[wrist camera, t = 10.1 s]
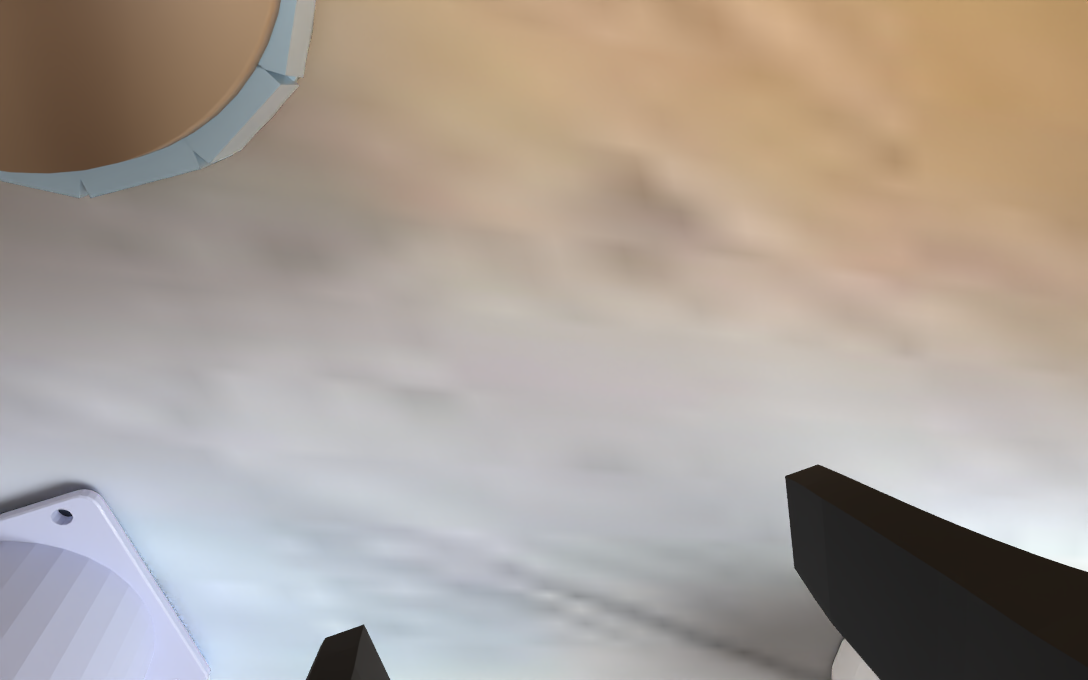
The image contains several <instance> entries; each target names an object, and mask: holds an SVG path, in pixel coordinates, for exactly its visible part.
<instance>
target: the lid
mask: <svg viewBox="0 0 1088 680" xmlns="http://www.w3.org/2000/svg"><path fill="white" fill-rule="evenodd" d="M280 3H281V0H0V171H5V172H15V173H47V174H49V173H60V172H72V171H83V170H88V169H93V168H97V167H102V166H106V165H111V164H116V163H120V162H123V161H127V160H130V159H134V158H138V157H141V156H144V155H146V154H149V153H152V152H155V151H157V150H160V149H163V148H165V147H168V146H170V145H172V144H174V143H176V142H178V141H179V140H181V139H183V138H185V137H187V136H189V135H190V134H192V133H194V132H196V131H197V130H198V129H200V128H201V127H202V126H204V125H205V124H206V123H208V122H209V121H210V120H212V119H213V118H214V117H216V116H217V115H218V114H219V113H220V112H221V111H222V110H223V109H224V108H225V107H226V106H227V105H228V104H229V103H230V102H231V101H232V100H233V99H234V98H235V97H236V96H237V95H238V93H239V92H240V90H241V89H242V88H243V86H244V85H245V83H246V82H247V81H248V79H249V78H250V76H251V75H252V74H253V72H254V71H255V69H256V67H257V65H258V63H259V61H260V59H261V57H262V55H263V53H264V51H265V49H266V47H267V45H268V43H269V41H270V38H271V35H272V32H273V29H274V26H275V23H276V20H277V17H278V14H279V8H280Z"/></svg>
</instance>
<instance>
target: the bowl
mask: <svg viewBox="0 0 1088 680" xmlns="http://www.w3.org/2000/svg"><path fill="white" fill-rule="evenodd" d="M315 3H316V0H281V3H280V8H279V14H278V17H277V20H276V23H275V26H274V29H273V32H272V35H271V38H270V41H269V43H268V45H267V47H266V49H265V51H264V53H263V55H262V57H261V59H260V61H259V63H258V65H257V67H256V69H255V71H254V72H253V74H252V75H251V76H250V78H249V79H248V81H247V82H246V83H245V85H244V86H243V88H242V89H241V90H240V92H239V93H238V95H237V96H236V97H235V98H234V99H233V100H232V101H231V102H230V103H229V104H228V105H227V106H226V107H225V108H224V109H223V110H222V111H221V112H220V113H219V114H218V115H217V116H216V117H214V118H213V119H212V120H210V121H209V122H208V123H206V124H205V125H204V126H202V127H201V128H200V129H198V130H197V131H196V132H194V133H192V134H190V135H189V136H187V137H185V138H183V139H181V140H179V141H178V142H176V143H174V144H172V145H170V146H168V147H165V148H163V149H160V150H157V151H155V152H152V153H149V154H146V155H144V156H141V157H138V158H134V159H130V160H127V161H123V162H120V163H116V164H111V165H106V166H102V167H97V168H93V169H88V170H83V171H72V172H60V173H49V174H47V173H15V172H5V171H0V181H3V182H8V183H12V184H17V185H21V186H26V187H30V188H35V189H40V190H44V191H49V192H53V193H58V194H62V195H67V196H71V197H76V198H81V197H84V196H87V195H89V196H90V198H93V197H97V196H101V195H104V194H108V193H112V192H116V191H120V190H123V189H127V188H131V187H135V186H139V185H142V184H146V183H150V182H154V181H158V180H161V179H165V178H169V177H173V176H177V175H180V174H184V173H188V172H192V171H195V170H199V169H202V168H204V167H207V166H209V165H211V164H214V163H216V162H218V161H221V160H223V159H225V158H228V157H230V156H232V155H233V154H234V153H236V152H239V151H241V150H242V149H243V147H244V146H245V145H246V144H247V143H248V142H249V141H250V140H251V139H252V137H253V136H254V135H255V134H256V133H257V132H258V131H259V130H260V129H261V128H262V127H263V126H264V125H265V124H266V123H267V122H268V121H269V120H271V119H272V118H273V116H274V115H275V114H276V112H277V111H278V110H279V109H280V107H281V106H282V105H283V103H284V102H285V101H286V100H287V99H288V98H289V97H290V95H291V94H292V93H293V92H294V91H295V90H296V89H297V88H298V87H299V86H300V85H299V84H298V83H297V80H298V78H299V77H302V78H303V76H304V70H305V64H306V58H307V54H308V50H309V46H310V42H311V37H312V33H313V25H314V14H315Z"/></svg>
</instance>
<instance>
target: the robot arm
mask: <svg viewBox="0 0 1088 680" xmlns="http://www.w3.org/2000/svg"><path fill="white" fill-rule="evenodd" d="M785 479H786V489H787V498H788V508H789V518H790V528H791V538H792V548H793V558H794V567H795V569H796V571H797V573H798V574H799V576H800V577H801V579H802V580H803V582H804V583H805V585H806V586H807V588H808V589H809V591H810V592H811V594H812V595H813V597H814V598H815V600H816V601H817V603H818V604H819V606H820V607H821V608H822V610H823V611H824V613H825V614H826V616H827V617H828V618H829V620H830V621H831V623H832V624H833V625H834V626H835V627H836V629H837V630H838V631H839V632H840V633H841V635H842V636H843V637H844V638H845V639H846V641H847V642H848V643H849V644H850V645H851V646H852V648H853V649H854V650H855V651H856V652H857V653H858V655H859V656H860V657H861V658H862V659H863V660H864V662H865V663H866V664H867V665H868V666H869V667H870V669H871V670H872V671H873V672H874V673H875V674H876V676H877V677H878V678H879V679H880V680H1088V572H1086V571H1083V570H1079V569H1076V568H1073V567H1070V566H1067V565H1064V564H1061V563H1058V562H1055V561H1052V560H1049V559H1046V558H1043V557H1040V556H1038V555H1035V554H1032V553H1029V552H1027V551H1024V550H1021V549H1019V548H1016V547H1013V546H1011V545H1008V544H1005V543H1002V542H1000V541H997V540H994V539H992V538H989V537H986V536H984V535H981V534H979V533H976V532H974V531H971V530H969V529H966V528H964V527H961V526H959V525H956V524H954V523H952V522H949V521H947V520H944V519H942V518H940V517H937V516H935V515H933V514H930V513H928V512H925V511H923V510H921V509H919V508H916V507H914V506H912V505H909V504H907V503H905V502H902V501H900V500H898V499H896V498H893V497H891V496H889V495H887V494H884V493H882V492H880V491H878V490H875V489H873V488H871V487H869V486H866V485H864V484H862V483H860V482H858V481H855V480H853V479H851V478H849V477H846V476H844V475H842V474H840V473H837V472H835V471H833V470H830V469H828V468H825V467H823V466H821V465H815V466H813V467H810V468H807V469H804V470H801V471H798V472H796V473H793V474H790V475H787V476H785ZM59 509H64V510H67V511H69V512H70V513H71V514H72V516H70V517H67V516H63V515H62V514H60V513H59V511H58V510H59ZM210 671H211V670H210V667H209V665H208V663H207V662H206V660H205V659H204V657H203V655H202V654H201V652H200V651H199V649H198V648H197V646H196V644H195V643H194V641H193V640H192V638H191V636H190V635H189V633H188V632H187V630H186V629H185V627H184V625H183V624H182V622H181V621H180V619H179V617H178V616H177V614H176V613H175V611H174V609H173V608H172V606H171V605H170V603H169V602H168V600H167V598H166V597H165V595H164V594H163V592H162V590H161V589H160V587H159V586H158V584H157V583H156V581H155V579H154V578H153V576H152V575H151V573H150V571H149V570H148V568H147V567H146V565H145V564H144V562H143V560H142V559H141V557H140V556H139V554H138V552H137V551H136V549H135V548H134V546H133V544H132V543H131V541H130V540H129V538H128V537H127V535H126V533H125V532H124V530H123V529H122V527H121V525H120V524H119V522H118V521H117V519H116V518H115V516H114V514H113V513H112V511H111V510H110V508H109V506H108V505H107V503H106V502H105V500H104V499H103V497H102V496H101V495H100V494H98V493H96V492H94V491H92V490H86V489H82V490H76V491H73V492H70V493H66V494H63V495H60V496H57V497H54V498H50V499H47V500H44V501H41V502H38V503H34V504H31V505H28V506H25V507H22V508H18V509H15V510H12V511H9V512H6V513H2V514H0V680H208V679H209V675H210ZM306 680H390V678H389V676H388V674H387V672H386V670H385V668H384V666H383V664H382V661H381V659H380V657H379V655H378V653H377V651H376V649H375V647H374V645H373V643H372V640H371V638H370V636H369V634H368V632H367V630H366V628H365V626H364V625H361V626H358V627H356V628H353V629H350V630H347V631H344V632H341V633H339V634H336V635H333V636H330V637H327V638H325V640H324V641H323V643H322V645H321V647H320V649H319V651H318V653H317V656H316V658H315V660H314V663H313V665H312V667H311V669H310V672H309V674H308V676H307V679H306Z"/></svg>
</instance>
